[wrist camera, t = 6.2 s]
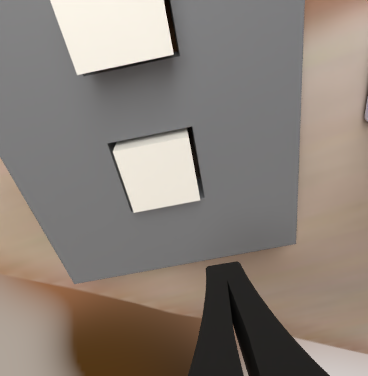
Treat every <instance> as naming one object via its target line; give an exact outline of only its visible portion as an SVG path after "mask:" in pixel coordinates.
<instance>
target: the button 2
mask: <svg viewBox="0 0 368 376" xmlns="http://www.w3.org/2000/svg"><path fill="white" fill-rule="evenodd" d="M113 154H114V157H115V160H116V163H117V165H118V168H119V171H120V174H121V177H122V180H123V183H124V186H125V188H126V191H127V194H128V197H129V200H130V203H131V206H132V209H133V212H134V213H136V212H141V211H146V210H152V209H157V208H162V207H167V206H173V205H178V204H183V203H188V202H194V201H199V200H200V195H199V190H198V185H197V179H196V174H195V169H194V163H193V158H192V152H191V147H190V142H189V136H188V132H187V128H182V129H177V130H172V131H167V132H162V133H157V134H152V135H147V136H142V137H137V138H132V139H127V140H122V141H117V142H116V145H115V147H114V150H113Z"/></svg>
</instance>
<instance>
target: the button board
mask: <svg viewBox="0 0 368 376" xmlns="http://www.w3.org/2000/svg"><path fill="white" fill-rule="evenodd" d="M169 5H170V11H171V16H172V22H173V28H174V33H175V39H176V44H177V50H178V51H176V52H173V53H174V55H170V56H165V57H160V58H155V59H151V60H146V61H141V62H136V63H132V64H127V65H122V66H118V67H113V68H108V69H103V70H99V71H94V72H89V73H84V74H80V75H77V73H76V70H75V68H74V65H73V62H72V59H71V57H70V54H69V51H68V48H67V46H66V43H65V40H64V37H63V35H62V32H61V29H60V26H59V24H58V21H57V18H56V15H55V12H54V10H53V7H52V4H51V1H50V0H0V157H1V159H2V161H3V163H4V164H5V166H6V168H7V169H8V171H9V173H10V175H11V176H12V178H13V180H14V181H15V183H16V185H17V187H18V188H19V190H20V192H21V193H22V195H23V197H24V199H25V200H26V202H27V204H28V205H29V207H30V209H31V211H32V212H33V214H34V216H35V217H36V219H37V221H38V223H39V224H40V226H41V228H42V229H43V231H44V233H45V234H46V236H47V238H48V240H49V241H50V243H51V245H52V246H53V248H54V250H55V252H56V253H57V255H58V257H59V258H60V260H61V262H62V264H63V265H64V267H65V269H66V270H67V272H68V274H69V276H70V277H71V279H72V281H73V282H74V284H77V283H83V282H88V281H94V280H99V279H105V278H110V277H116V276H121V275H127V274H132V273H138V272H143V271H149V270H154V269H160V268H166V267H171V266H177V265H182V264H188V263H193V262H199V261H204V260H210V259H215V258H221V257H226V256H232V255H237V254H243V253H248V252H254V251H259V250H265V249H270V248H276V247H281V246H287V245H292V244H296V228H297V201H298V173H299V145H300V117H301V89H302V61H303V33H304V5H305V0H169ZM187 127H191V129H192V135H193V140H194V146H195V152H196V157H197V163H198V169H199V174H200V178H199V179H197V185H198V190H199V195H200V200H199V201H194V202H188V203H183V204H178V205H173V206H167V207H162V208H157V209H152V210H146V211H141V212H136V213H134V212H133V209H132V206H131V203H130V200H129V197H128V194H127V191H126V188H125V186H124V183H123V180H122V177H121V174H120V171H119V168H118V165H117V163H116V160H115V157H114V154H113V150H114V147H115V145H116V142H117V141H122V140H127V139H132V138H137V137H142V136H147V135H152V134H157V133H162V132H167V131H172V130H177V129H182V128H187Z"/></svg>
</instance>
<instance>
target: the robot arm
mask: <svg viewBox="0 0 368 376" xmlns="http://www.w3.org/2000/svg"><path fill="white" fill-rule="evenodd" d="M365 120H366V121H367V122H368V98H367V104H366V111H365ZM233 326H234V329H235V333H236V336H237V339H238V342H239V346H240V349H241V352H242V356H243V359H244V362H245V365H246V369H247V372H248V375H249V376H330V375H328V374H327V373H326V372H325V371H324V370H323V369H322V368H321V367H320V366H319V365H318V364H317V363H316V362H315V361H314V360H313V359H312V358H311V357H310V356H309V355H308V354H307V352H305V350H304V349H303V348H302V347H301V346H300V345H299V344H298V343H297V342H296V341H295V339H294V338H293V337H292V336H291V335H290V334H289V333H288V331H287V330H286V329H285V328H284V327H283V325H282V324H281V323H280V322H279V321H278V319H277V318H276V317H275V316H274V314H273V313H272V312H271V310H270V309H269V308H268V306H267V305H266V304H265V302H264V301H263V300H262V298H261V297H260V295H259V294H258V293H257V291H256V290H255V288H254V287H253V285H252V283H251V282H250V280H249V279H248V277H247V275H246V274H245V272H244V270H243V268H242V266H241V264H240V263H239V262H231V263H225V264H219V265H213V266H208V267H207V268H206V294H205V302H204V310H203V316H202V322H201V327H200V331H199V336H198V341H197V345H196V349H195V353H194V356H193V360H192V364H191V367H190V370H189V374H188V376H244V375H243V371H242V367H241V363H240V359H239V354H238V350H237V345H236V341H235V336H234V330H233Z"/></svg>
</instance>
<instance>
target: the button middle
mask: <svg viewBox="0 0 368 376" xmlns="http://www.w3.org/2000/svg"><path fill="white" fill-rule="evenodd" d="M50 1H51V4H52V7H53V10H54V12H55V15H56V18H57V21H58V24H59V26H60V29H61V32H62V35H63V37H64V40H65V43H66V46H67V48H68V51H69V54H70V57H71V59H72V62H73V65H74V68H75V70H76V73H77V75H80V74H84V73H89V72H94V71H99V70H103V69H108V68H113V67H118V66H122V65H127V64H132V63H136V62H141V61H146V60H151V59H155V58H160V57H165V56H170V55H174V53H173V48H172V43H171V37H170V32H169V26H168V21H167V15H166V10H165V5H164V0H50Z"/></svg>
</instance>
